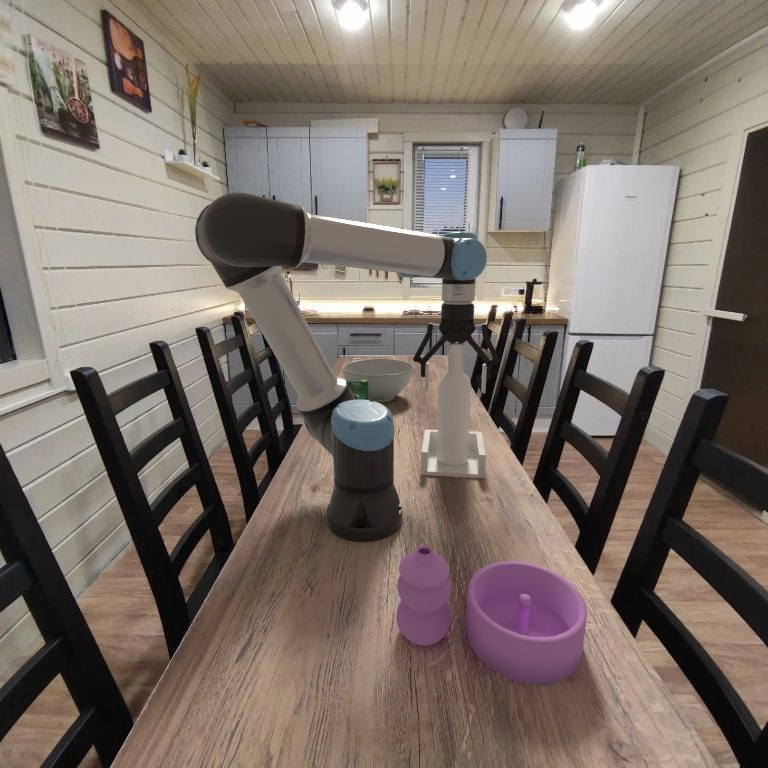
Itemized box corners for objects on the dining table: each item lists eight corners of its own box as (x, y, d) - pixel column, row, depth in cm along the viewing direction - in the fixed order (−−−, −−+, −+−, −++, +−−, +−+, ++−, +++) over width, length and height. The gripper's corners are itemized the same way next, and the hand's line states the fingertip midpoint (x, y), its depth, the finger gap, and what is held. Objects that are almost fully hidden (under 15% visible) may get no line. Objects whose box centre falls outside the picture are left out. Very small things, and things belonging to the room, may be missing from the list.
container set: (560, 598, 70) (569, 522, 67) (600, 688, 56) (613, 597, 52) (398, 592, 72) (398, 518, 68) (394, 678, 57) (394, 589, 54)
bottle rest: (484, 478, 108) (485, 455, 107) (420, 474, 110) (421, 452, 109) (480, 452, 123) (481, 431, 121) (424, 450, 125) (424, 429, 123)
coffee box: (368, 416, 151) (367, 378, 148) (369, 419, 149) (368, 380, 145) (343, 418, 150) (342, 379, 147) (344, 421, 147) (342, 381, 144)
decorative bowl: (410, 387, 185) (411, 358, 182) (417, 408, 160) (417, 374, 156) (344, 388, 185) (343, 359, 182) (340, 409, 159) (339, 375, 156)
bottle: (467, 467, 112) (473, 346, 104) (435, 465, 113) (438, 345, 105) (468, 454, 119) (473, 340, 111) (438, 452, 121) (441, 339, 113)
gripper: (402, 303, 104) (402, 393, 110) (515, 304, 100) (509, 396, 106) (405, 300, 111) (405, 385, 117) (511, 301, 108) (505, 388, 113)
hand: (454, 390), depth 111 cm, fingers open, 13 cm apart
